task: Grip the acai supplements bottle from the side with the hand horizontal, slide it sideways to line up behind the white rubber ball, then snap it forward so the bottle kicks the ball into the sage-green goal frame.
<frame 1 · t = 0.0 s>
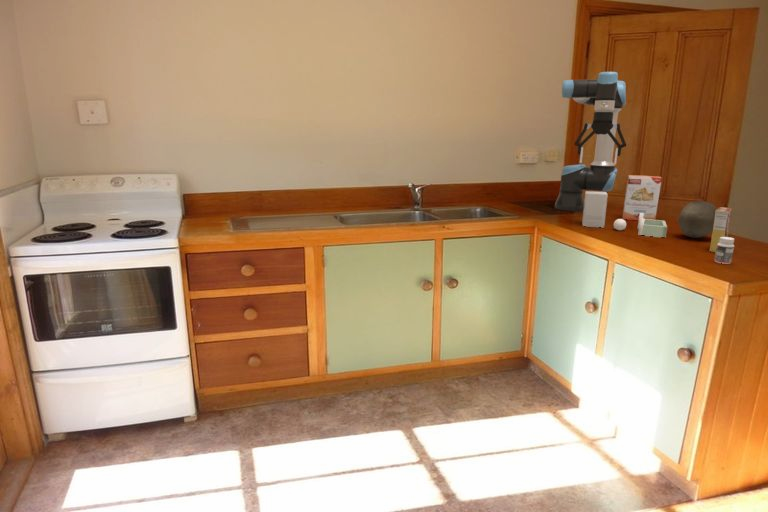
hand: (597, 163, 215), 28 cm above the table, tool pointing down, fingers open, 13 cm apart
supplement box: (592, 225, 228), on the table
candy box: (716, 250, 185), on the table
cracker box: (638, 220, 242), on the table
goal: (650, 233, 213), on the table
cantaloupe: (695, 238, 204), on the table
ball: (620, 224, 217), point 2 cm above the table
pill bottle: (722, 262, 169), on the table
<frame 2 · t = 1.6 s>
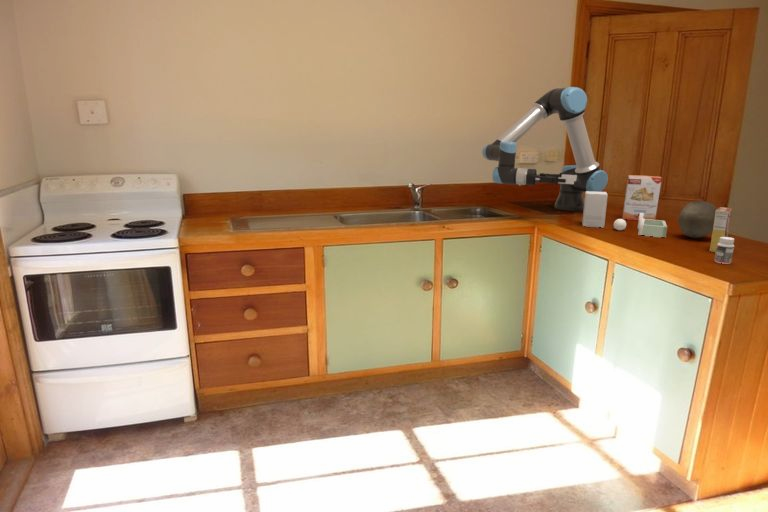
hand: (575, 179, 226), 20 cm above the table, tool horizontal, fingers open, 13 cm apart
nothing on the table moved.
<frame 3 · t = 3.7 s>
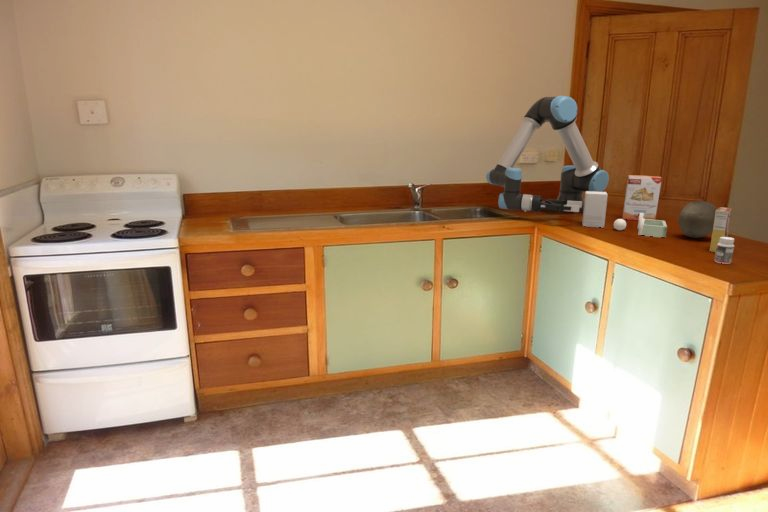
hand: (580, 206, 228), 8 cm above the table, tool horizontal, fingers open, 13 cm apart
nothing on the table moved.
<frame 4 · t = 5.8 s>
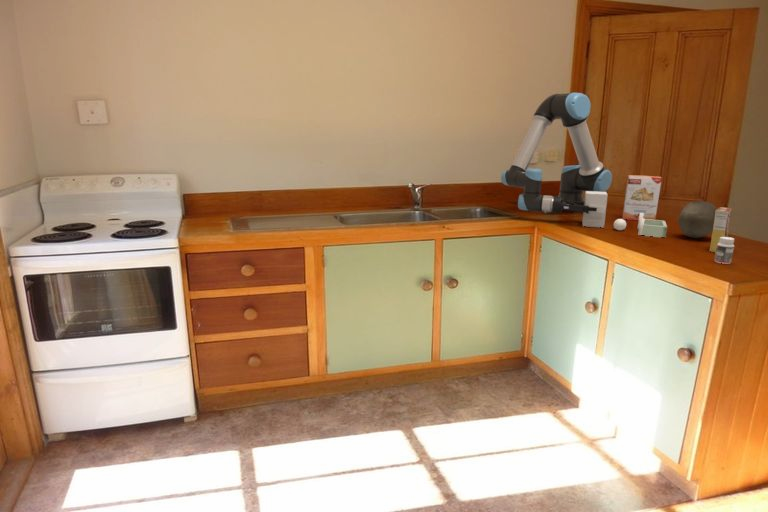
hand: (605, 208, 224), 8 cm above the table, tool horizontal, fingers closed on supplement box, 9 cm apart
supplement box: (592, 225, 228), on the table, touching gripper
everything else where it was.
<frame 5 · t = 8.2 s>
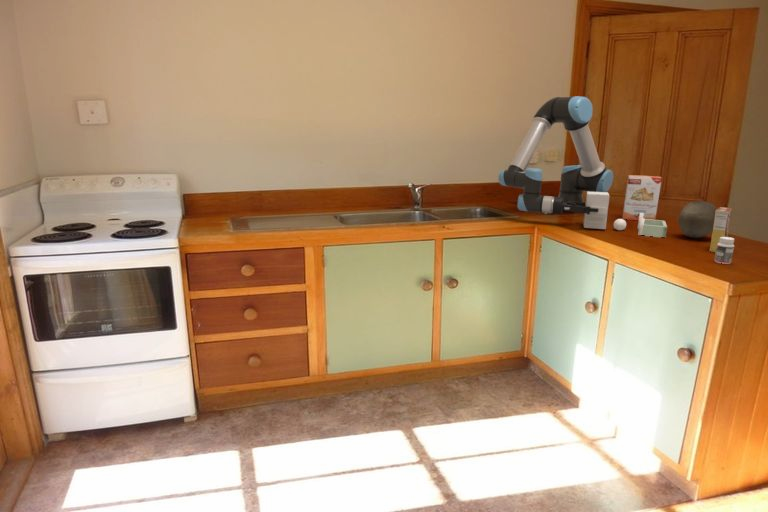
hand: (607, 209, 218), 9 cm above the table, tool horizontal, fingers closed on supplement box, 9 cm apart
supplement box: (594, 227, 222), on the table, touching gripper
everything else where it was.
when the fingers open (9 cm above the table, at t = 10.9 s): supplement box stays where it is, on the table.
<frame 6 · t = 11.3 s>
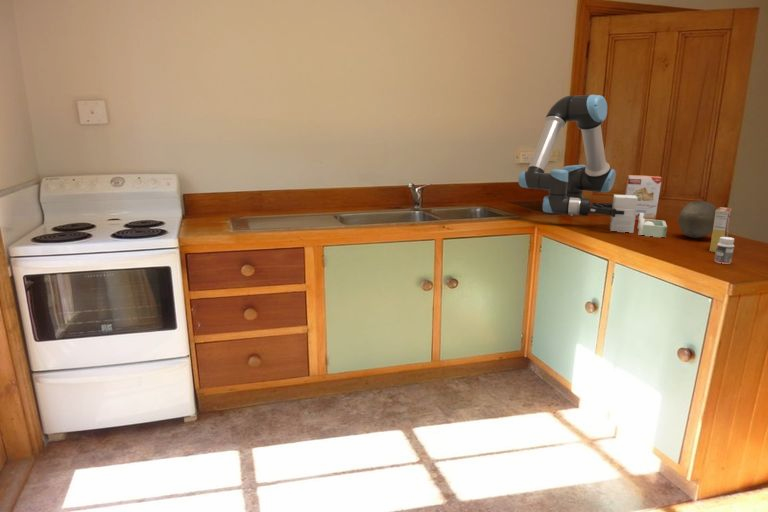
hand: (633, 210, 214), 9 cm above the table, tool horizontal, fingers open, 13 cm apart
supplement box: (621, 231, 218), on the table
ball: (648, 227, 212), point 2 cm above the table, tilted 124°
everything else where it was.
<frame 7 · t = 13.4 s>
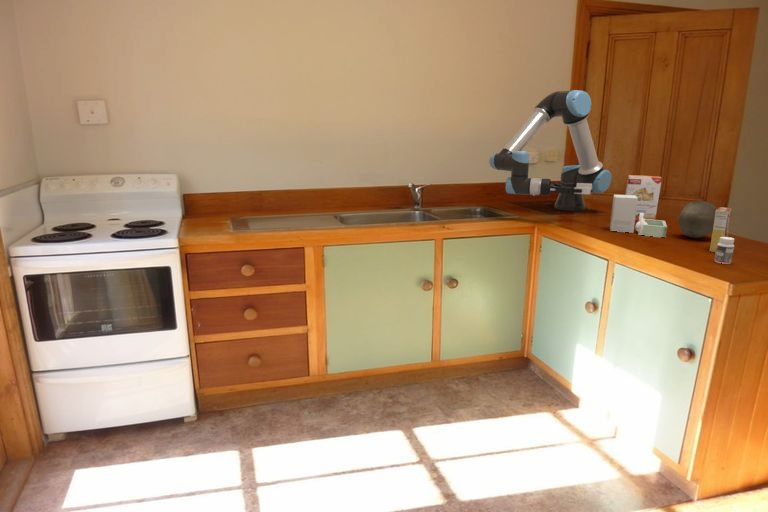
hand: (591, 188, 221), 17 cm above the table, tool horizontal, fingers open, 13 cm apart
ball: (641, 226, 213), point 2 cm above the table, tilted 171°
everything else where it was.
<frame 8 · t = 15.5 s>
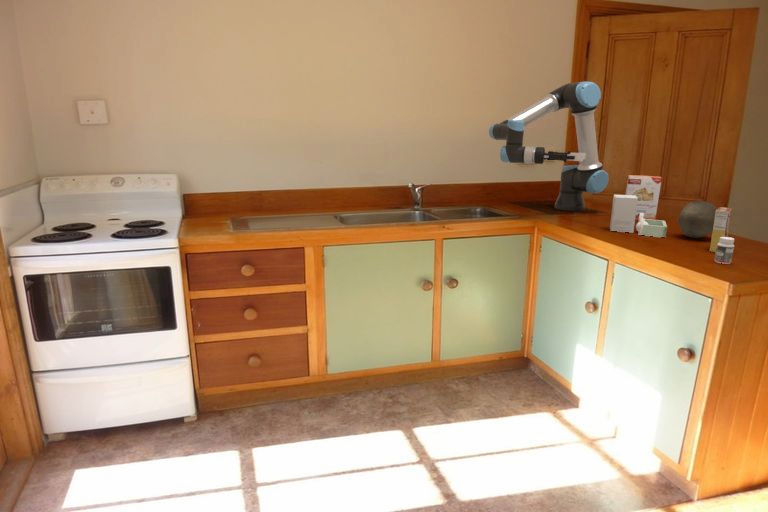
hand: (584, 157, 224), 30 cm above the table, tool horizontal, fingers open, 13 cm apart
at the end: ball inside the target area on the goal (3.8 cm from its centre), point 2.5 cm above the goal's base; supplement box tilted 0°; the gripper is holding nothing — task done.
